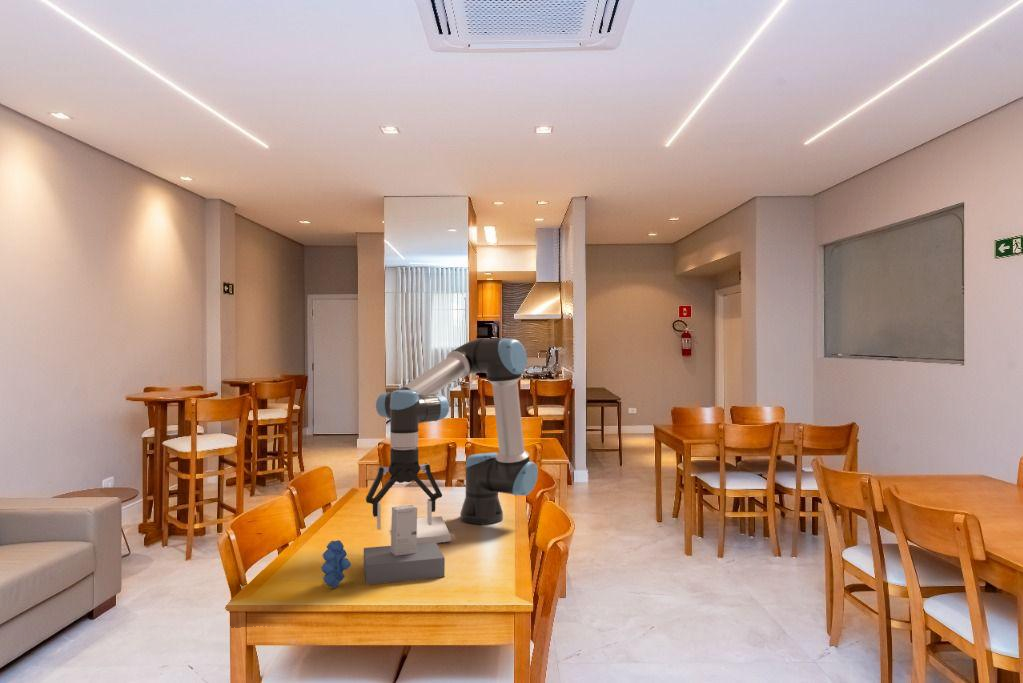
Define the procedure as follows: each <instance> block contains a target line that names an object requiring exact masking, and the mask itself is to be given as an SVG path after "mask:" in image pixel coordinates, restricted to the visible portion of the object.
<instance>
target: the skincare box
mask: <svg viewBox="0 0 1023 683" xmlns="http://www.w3.org/2000/svg"><path fill="white" fill-rule="evenodd" d="M417 518H418V508H417V507H416V506H414V505H411V504H410V505H399V506H392V507H391V527H390V528H391V531H390V532H391V533H390V546H391V552H392V553H393V554H394V555H395V556H399V555H406V554H414V553H416V540H417Z"/></svg>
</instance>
